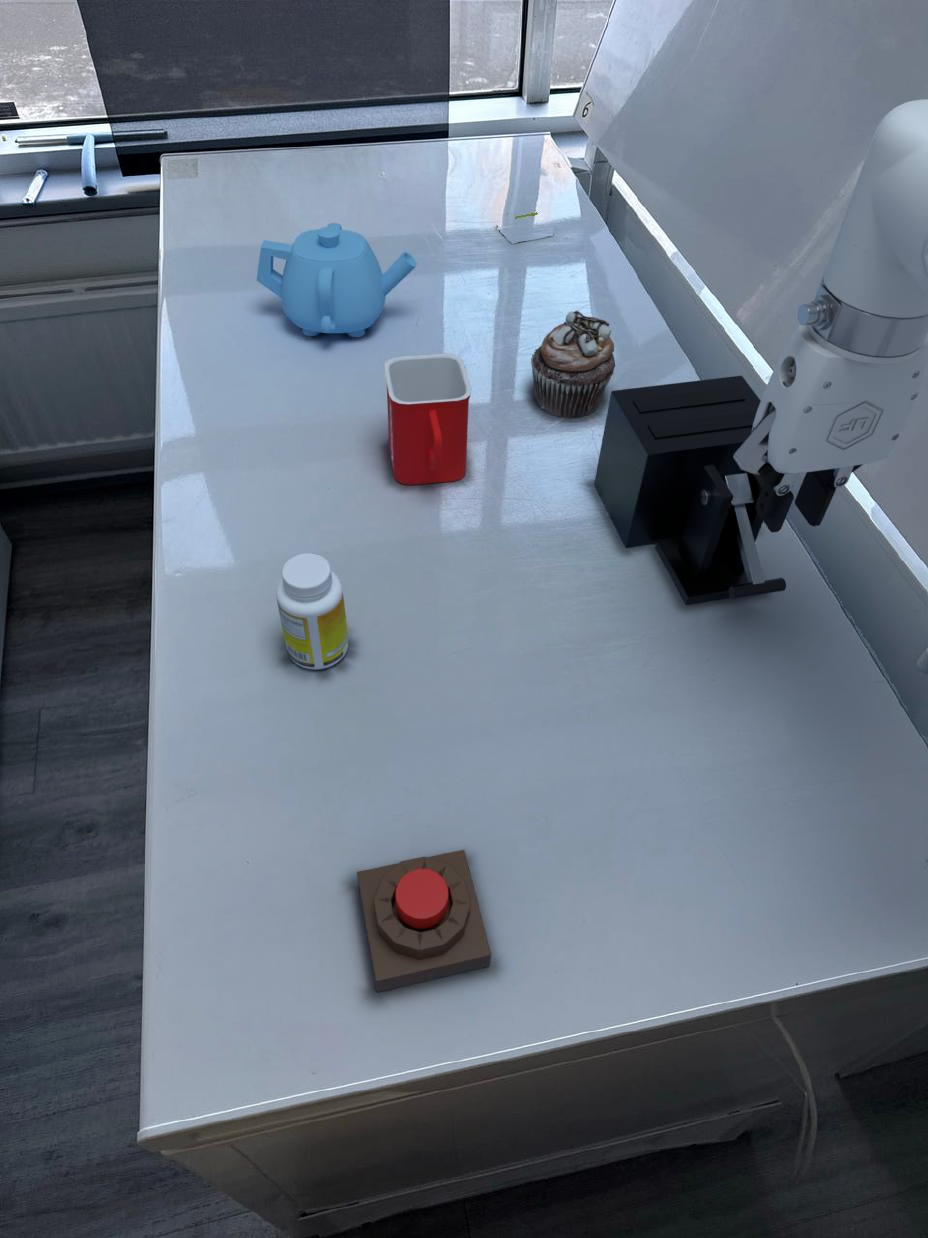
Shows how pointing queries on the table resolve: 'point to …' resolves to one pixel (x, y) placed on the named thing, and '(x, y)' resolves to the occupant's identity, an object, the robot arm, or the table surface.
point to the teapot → (330, 280)
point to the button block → (422, 951)
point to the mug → (427, 417)
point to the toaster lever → (747, 542)
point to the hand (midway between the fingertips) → (787, 516)
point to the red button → (421, 898)
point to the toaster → (668, 451)
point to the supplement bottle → (312, 612)
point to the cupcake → (573, 366)
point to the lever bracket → (710, 541)
